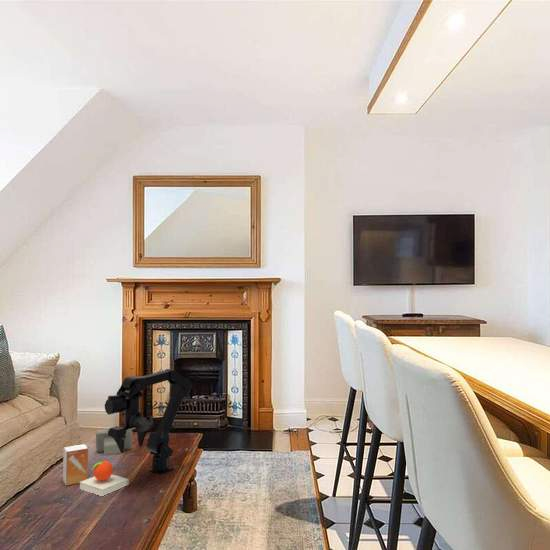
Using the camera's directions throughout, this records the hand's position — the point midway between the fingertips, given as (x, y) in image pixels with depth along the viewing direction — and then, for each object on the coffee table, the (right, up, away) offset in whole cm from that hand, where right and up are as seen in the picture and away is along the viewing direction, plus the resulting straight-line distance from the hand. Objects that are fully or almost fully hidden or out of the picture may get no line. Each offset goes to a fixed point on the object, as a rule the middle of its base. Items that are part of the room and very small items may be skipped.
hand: (131, 449), depth 189 cm
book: (-8, -12, -7) cm, 16 cm away
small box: (-22, -12, -1) cm, 25 cm away
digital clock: (-18, -13, +34) cm, 40 cm away
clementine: (-9, -9, -7) cm, 15 cm away
